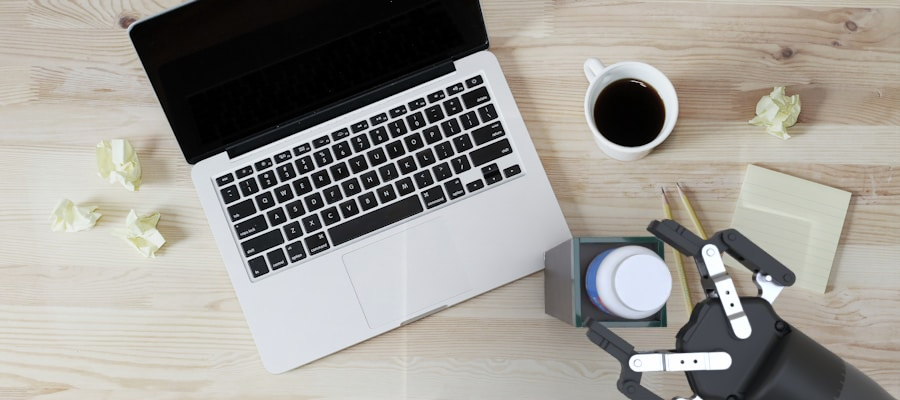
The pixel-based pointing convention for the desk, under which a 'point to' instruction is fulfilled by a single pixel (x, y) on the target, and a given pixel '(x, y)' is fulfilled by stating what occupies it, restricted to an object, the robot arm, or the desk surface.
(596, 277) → the pill bottle
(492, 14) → the desk surface
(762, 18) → the desk surface
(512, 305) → the desk surface
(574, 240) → the socket
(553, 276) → the stand
